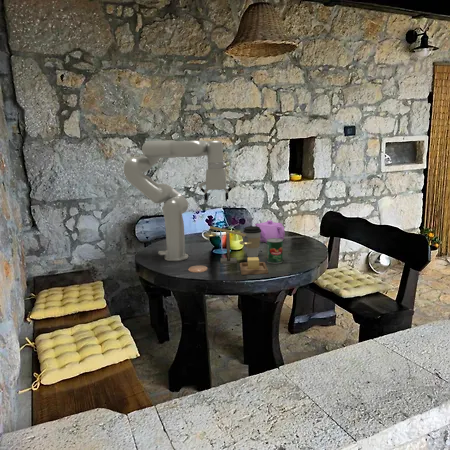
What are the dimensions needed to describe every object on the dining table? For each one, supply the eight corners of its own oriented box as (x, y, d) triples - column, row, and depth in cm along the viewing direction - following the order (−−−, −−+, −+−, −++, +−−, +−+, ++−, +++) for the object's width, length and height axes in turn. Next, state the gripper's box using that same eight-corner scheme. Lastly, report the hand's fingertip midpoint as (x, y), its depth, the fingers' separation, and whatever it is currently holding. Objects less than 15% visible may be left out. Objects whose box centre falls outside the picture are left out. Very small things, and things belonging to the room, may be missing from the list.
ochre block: (247, 267, 191) (247, 257, 190) (258, 267, 191) (258, 257, 190) (248, 270, 186) (248, 260, 185) (259, 270, 186) (259, 260, 185)
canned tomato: (274, 264, 196) (274, 242, 194) (263, 261, 202) (263, 239, 200) (286, 261, 201) (286, 240, 198) (275, 258, 207) (275, 237, 205)
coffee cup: (260, 258, 208) (260, 229, 205) (242, 257, 209) (241, 229, 207) (262, 253, 217) (262, 225, 214) (245, 252, 219) (244, 225, 216)
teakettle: (285, 243, 236) (285, 222, 234) (256, 244, 237) (256, 223, 234) (282, 237, 253) (282, 217, 251) (255, 237, 253) (254, 218, 251)
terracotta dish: (187, 272, 187) (187, 271, 187) (188, 267, 196) (188, 265, 196) (207, 272, 188) (207, 270, 187) (207, 266, 196) (207, 265, 196)
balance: (205, 264, 200) (203, 227, 196) (205, 260, 206) (204, 225, 202) (252, 262, 200) (251, 226, 197) (251, 259, 206) (250, 223, 203)
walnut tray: (241, 274, 182) (241, 270, 182) (239, 266, 194) (239, 262, 194) (267, 273, 183) (267, 269, 182) (264, 265, 195) (264, 261, 194)
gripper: (232, 165, 201) (233, 199, 205) (198, 166, 201) (199, 200, 204) (233, 166, 194) (234, 201, 197) (197, 167, 194) (198, 202, 197)
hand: (216, 201), depth 201 cm, fingers open, 9 cm apart
